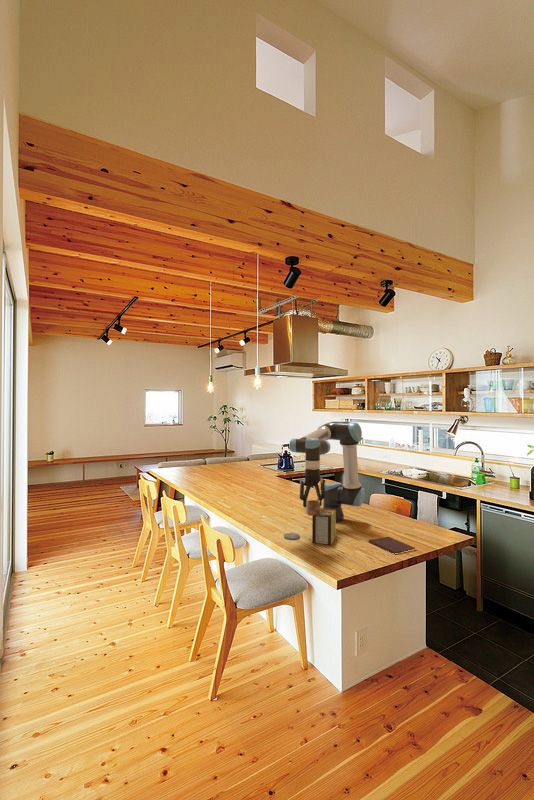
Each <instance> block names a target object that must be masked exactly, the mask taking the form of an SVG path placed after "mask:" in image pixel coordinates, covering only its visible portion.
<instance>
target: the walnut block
mask: <svg viewBox="0 0 534 800" xmlns="http://www.w3.org/2000/svg"><path fill="white" fill-rule="evenodd" d="M307 501H308V514H307V515H308V516H312V515H320V508H321V506H320V503H319V502H317V499H315V500H314V499H313V500H307Z"/></svg>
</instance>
